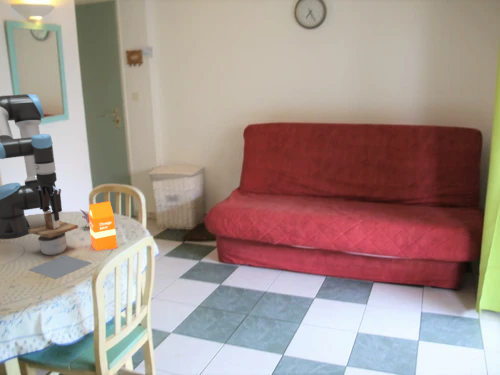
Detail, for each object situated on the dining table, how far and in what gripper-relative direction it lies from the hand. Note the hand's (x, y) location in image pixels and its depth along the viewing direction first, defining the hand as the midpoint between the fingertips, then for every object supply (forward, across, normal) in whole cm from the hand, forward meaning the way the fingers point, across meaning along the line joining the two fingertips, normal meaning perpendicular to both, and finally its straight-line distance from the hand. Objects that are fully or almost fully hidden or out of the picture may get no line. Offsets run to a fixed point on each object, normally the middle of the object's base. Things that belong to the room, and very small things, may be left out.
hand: (52, 226), depth 211 cm
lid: (+2, 0, 0) cm, 2 cm away
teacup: (+11, 0, 0) cm, 11 cm away
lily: (+12, -10, +28) cm, 32 cm away
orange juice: (+11, +14, +14) cm, 23 cm away
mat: (+11, +16, -10) cm, 22 cm away
